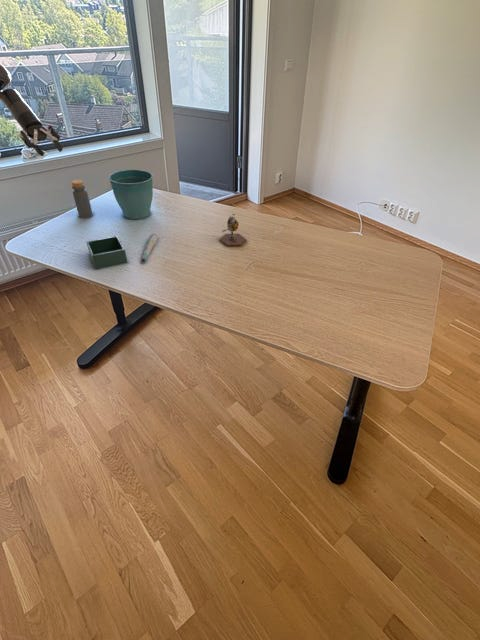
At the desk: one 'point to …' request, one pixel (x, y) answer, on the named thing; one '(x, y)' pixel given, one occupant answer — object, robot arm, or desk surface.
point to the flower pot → (133, 192)
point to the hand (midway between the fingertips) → (52, 152)
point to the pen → (149, 245)
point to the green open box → (107, 252)
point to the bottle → (81, 199)
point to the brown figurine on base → (232, 238)
